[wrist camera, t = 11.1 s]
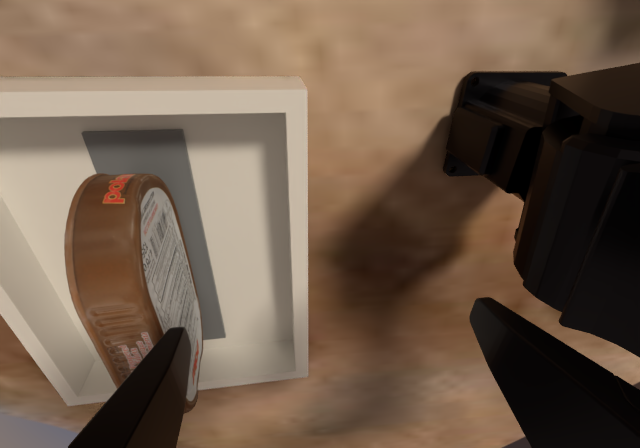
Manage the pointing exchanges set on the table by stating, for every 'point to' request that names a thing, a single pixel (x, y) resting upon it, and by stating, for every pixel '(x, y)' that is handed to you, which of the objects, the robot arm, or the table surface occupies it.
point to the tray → (191, 203)
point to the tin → (131, 272)
